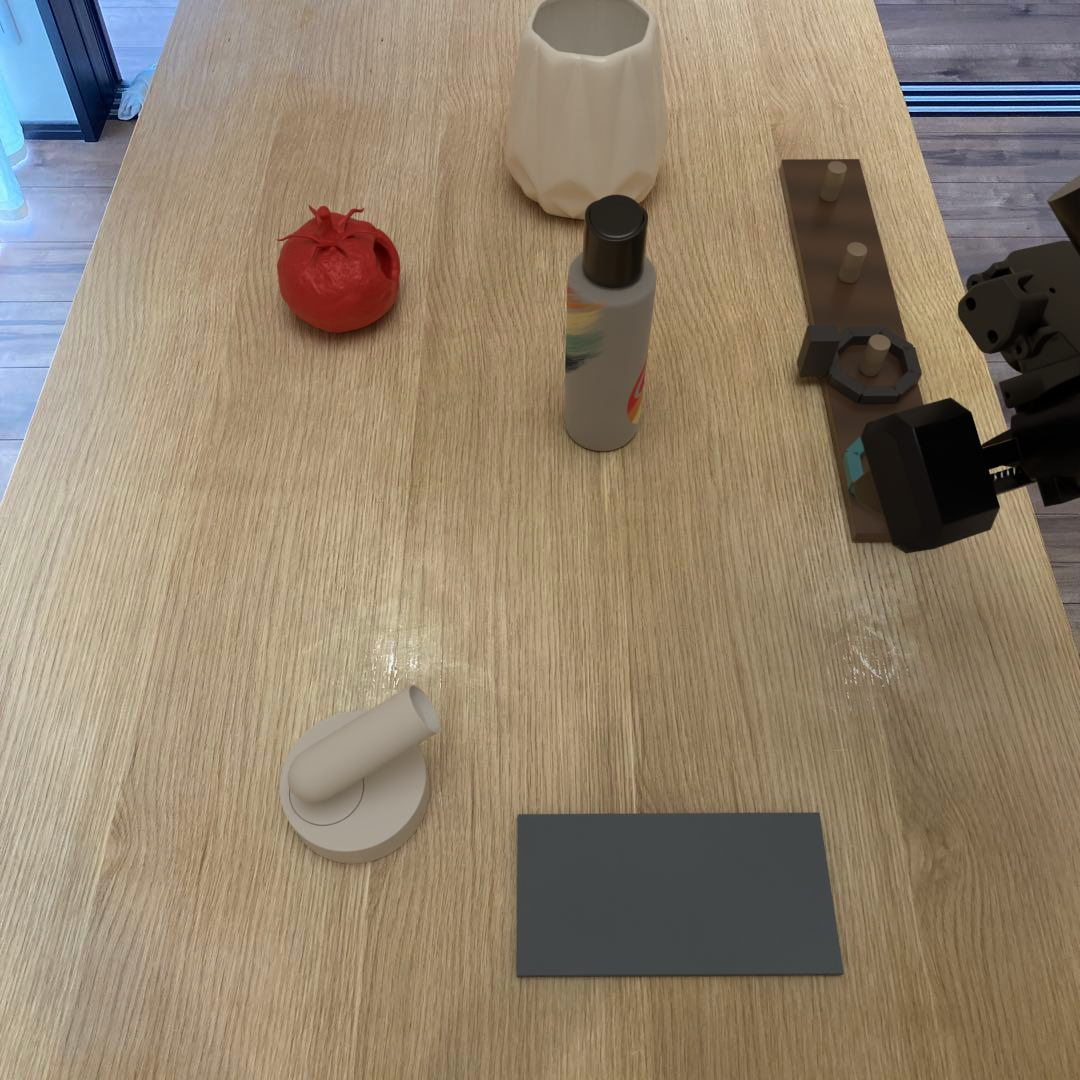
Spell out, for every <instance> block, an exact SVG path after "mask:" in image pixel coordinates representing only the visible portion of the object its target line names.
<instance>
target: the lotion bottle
mask: <svg viewBox="0 0 1080 1080" xmlns="http://www.w3.org/2000/svg"><path fill="white" fill-rule="evenodd" d="M648 227H649V213H648V211H647V209H646V208H645V207H644V206H643V205H641V204H639V203H637V202H636V201H635V200H633V199H632V198H630V197H628V196H624V195H609V196H606V197H603V198H601V199H600V200H597V201H594V202H592V203H591V204H590V205H589V206H588V207H587V209H586V211H585V219H584V220H583V238H582V251H581V252H580V253H579V254H578V255H577V256H576V257H574V259H573V260H572V261H571V263H570V265H569V268H568V272H567V281H566V282H567V284H566V312H565V313H566V315H565V317H566V318H565V351H564V352H565V356H564V357H565V358H564V396H563V397H564V398H563V418H564V426H565V430H566V432H567V434H568V435H569V437H570V438H571V440H573V441H574V442H575V443H576V444H578V445H579V446H581V447H582V448H585V449H588V450H591V451H595V452H611V451H614V450H617V449H620V448H621V447H622V448H623V447H624V446H625V445H627V444H628V443H629V442H631V440H632V439H633V438H634V437H635V435H636V433H637V431H638V429H639V424H640V419H641V412H642V406H643V405H642V404H643V395H644V388H645V379H646V371H647V365H648V364H647V363H648V354H649V348H650V347H649V346H650V339H651V331H652V322H653V315H654V314H653V313H654V308H655V307H654V306H655V299H656V298H655V297H656V291H657V290H656V289H657V271H656V268H655V266H654V264H653V262H652V261H651V260H650V259H649V258H648V256H646V250H647V238H648Z"/></svg>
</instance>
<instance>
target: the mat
mask: <svg viewBox="0 0 1080 1080" xmlns="http://www.w3.org/2000/svg"><path fill="white" fill-rule="evenodd" d="M516 871H517V873H516V875H517V881H516V882H517V883H516V889H517V890H516V894H517V895H516V907H517V908H516V978H611V977H612V978H615V977H619V978H621V977H622V978H623V977H624V978H625V977H626V978H627V977H629V978H630V977H632V978H633V977H637V978H638V977H639V978H640V977H645V978H646V977H790V976H791V977H793V976H794V977H796V976H797V977H800V976H801V977H804V976H806V977H807V976H813V977H814V976H816V977H817V976H843V975H844V972H845V971H844V965H843V958H842V952H841V945H840V940H839V933H838V925H837V919H836V913H835V912H836V911H835V906H834V899H833V898H834V897H833V893H832V885H831V879H830V872H829V867H828V859H827V853H826V846H825V839H824V833H823V825H822V820H821V814H820V812H818V811H817V812H684V813H683V812H679V813H677V812H675V813H674V812H672V813H671V812H670V813H669V812H667V813H665V812H663V813H661V812H660V813H659V812H658V813H654V812H653V813H652V812H651V813H650V812H649V813H518V814H517V869H516Z"/></svg>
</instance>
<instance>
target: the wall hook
mask: <svg viewBox="0 0 1080 1080" xmlns="http://www.w3.org/2000/svg"><path fill="white" fill-rule="evenodd" d="M440 732H441V721H440V717H439V714H438V711H437V710H436V708H435V706H434V703H433V702H432V701H431V699H430V697H428V695H427V693H425V691H424V690H423V689H421V687H419V686H418V685H416V684H413V683H412V684H410V685H407V686H406V687H404V688H403V689H401V690H399V691H398V692H396V693H394V694H393V695H392V696H390V697H388V698H386V699H385V700H384V701H382V702H380V703H379V704H377V705H375V706H374V707H372V708H370V709H369V710H365V709H364V710H363V709H362V710H361V709H359V710H358V709H357V710H348V711H342V712H338V713H334V714H332V715H330V716H327V717H325V718H323V719H321V720H319V721H318V722H316V723H315V724H313V725H312V726H310V727H309V728H308V729H307V730H306V731H305V732H303V734H302V735H300V736H299V738H298V739H297V740H296V742H294V743H293V745H292V746H291V748H290V749H289V752H288V753H287V755H286V757H285V760H284V762H283V765H282V768H281V772H280V776H279V777H280V778H279V797H280V803H281V807H282V810H283V813H284V815H285V817H286V819H287V821H288V822H289V824H290V826H291V827H292V829H293V830H294V831H295V833H296V834H297V836H298V837H299V839H300V841H302V842H303V844H304V845H305V846H306V847H307V848H309V849H310V850H311V851H312V852H314V853H315V854H316V855H318V856H320V857H322V858H324V859H325V860H329V861H332V862H336V863H341V864H350V865H351V864H352V865H353V864H354V865H355V864H364V863H370V862H373V861H377V860H380V859H382V858H384V857H386V856H389V855H390V854H392V853H393V852H395V851H397V850H399V849H400V848H401V847H402V846H403V845H405V843H407V842H408V841H409V840H410V838H411V837H412V836H413V835H414V834H415V832H416V831H417V830H418V829H419V827H420V825H421V823H422V822H423V819H424V818H425V815H426V812H427V811H428V806H429V803H430V796H431V780H430V775H429V770H428V767H427V763H426V759H425V756H424V753H423V750H422V748H421V746H420V744H422V743H423V742H425V741H428V739H430V738H432V737H433V736H435V735H436V734H438V733H440Z"/></svg>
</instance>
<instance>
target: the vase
mask: <svg viewBox="0 0 1080 1080" xmlns="http://www.w3.org/2000/svg"><path fill="white" fill-rule="evenodd" d="M662 55H663V54H662V42H661V31H660V25H659V21H658V18H657V16H656V15H655V14H654V12H653V11H652V9H650V8H649V7H648V6H647V5H645V4H644V3H642V2H641V1H640V0H539V1H537V2H536V3H535V4H534V5H533V6H532V7H531V9H530V10H529V12H528V15H527V19H525V22H524V26H523V28H522V32H521V34H520V39H519V45H518V51H517V57H516V63H515V67H514V72H513V76H512V82H511V87H510V93H509V96H508V97H509V98H508V103H507V107H506V116H505V160H504V161H505V165H506V168H507V170H508V172H509V173H510V174H511V176H512V178H513V179H514V181H515V182H516V183H517V185H518V186H519V187H520V188H521V190H522V192H523V194H524V195H525V196H526V197H527V198H529V199H530V200H532V201H534V202H536V203H538V204H539V206H540V207H541V209H542V210H543V211H544V212H545V213H546V214H548V215H550V216H555V217H560V218H561V217H562V218H566V219H574V220H575V219H577V220H581V221H584V219H585V211H586V209H587V207H588V206H589V205H590V204H591V203H592V202H594V201H597V200H600V199H601V198H603V197H606V196H609V195H624V196H628V197H630V198H632V199H633V200H635V201H636V202H637V203H638V204H639V203H642V202H643V201H644V200H645V199H646V198H647V196H648V195H649V194H650V193H651V191H652V189H653V188H654V186H655V184H656V181H657V176H658V173H659V169H660V166H661V162H662V160H663V156H664V153H665V150H666V146H667V144H668V141H669V137H670V135H669V134H670V133H669V121H668V111H667V102H666V96H665V83H664V68H663V56H662Z"/></svg>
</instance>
